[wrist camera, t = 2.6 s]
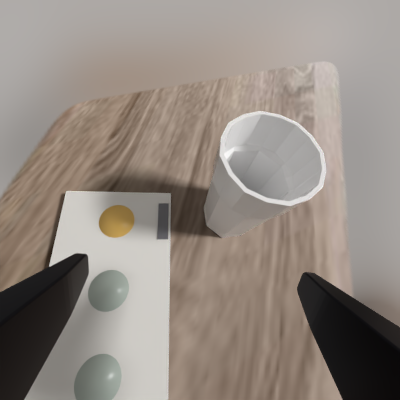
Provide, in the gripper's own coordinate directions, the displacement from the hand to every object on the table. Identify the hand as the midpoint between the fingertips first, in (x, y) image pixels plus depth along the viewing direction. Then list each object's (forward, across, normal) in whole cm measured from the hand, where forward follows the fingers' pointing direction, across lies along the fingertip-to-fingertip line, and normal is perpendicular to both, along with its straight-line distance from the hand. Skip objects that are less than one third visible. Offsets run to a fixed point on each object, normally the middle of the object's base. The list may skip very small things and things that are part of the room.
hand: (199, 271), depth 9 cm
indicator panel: (+7, +6, +9) cm, 13 cm away
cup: (+13, -4, +3) cm, 14 cm away
